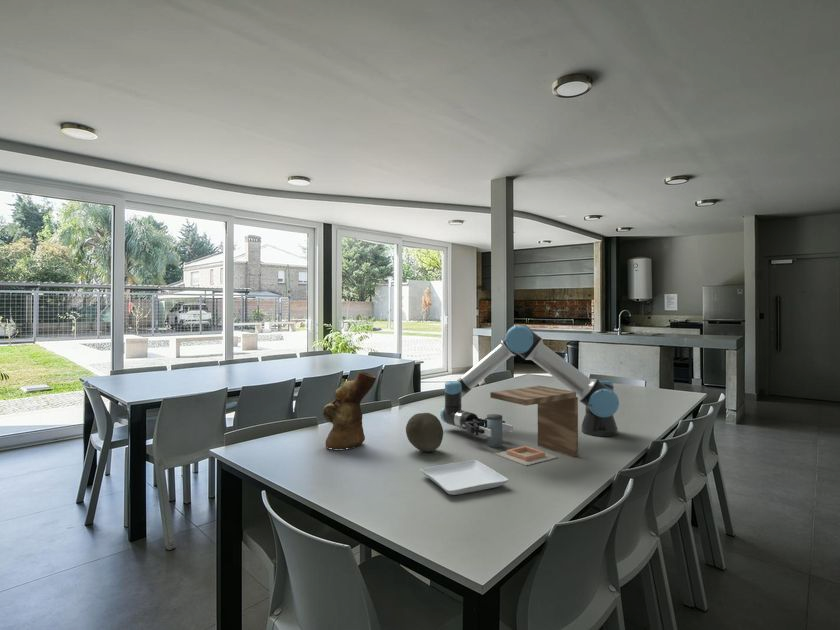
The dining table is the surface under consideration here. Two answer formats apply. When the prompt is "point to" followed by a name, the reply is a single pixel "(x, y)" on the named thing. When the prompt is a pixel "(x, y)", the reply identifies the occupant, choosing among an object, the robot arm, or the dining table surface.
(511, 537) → the dining table surface
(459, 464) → the salad plate
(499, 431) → the canister
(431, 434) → the cantaloupe
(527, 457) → the seat collar
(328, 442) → the ceramic vessel
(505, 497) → the dining table surface
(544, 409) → the shelf
